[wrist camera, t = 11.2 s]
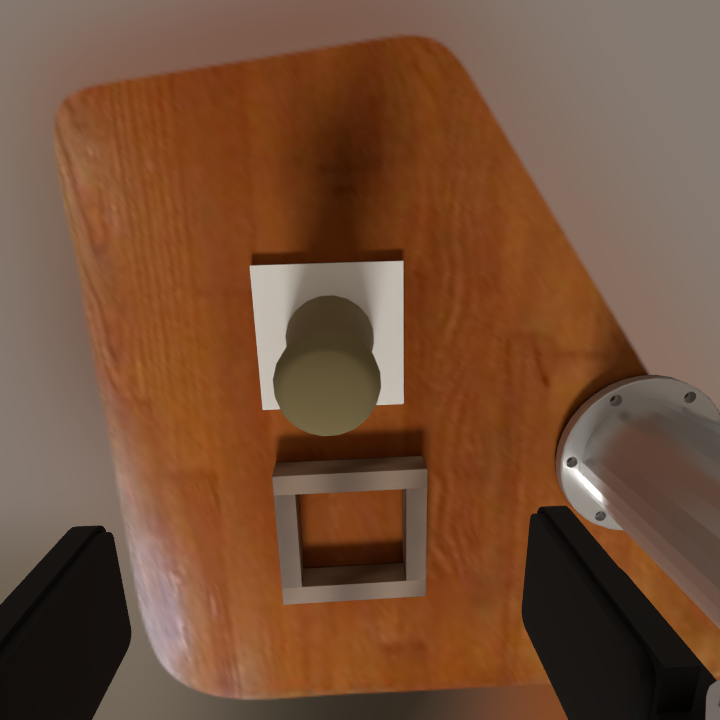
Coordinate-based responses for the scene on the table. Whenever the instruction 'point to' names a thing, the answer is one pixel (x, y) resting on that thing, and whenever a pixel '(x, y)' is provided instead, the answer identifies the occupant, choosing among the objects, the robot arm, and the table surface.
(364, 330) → the cork
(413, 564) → the holder
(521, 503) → the table surface
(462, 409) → the table surface
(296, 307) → the coaster
